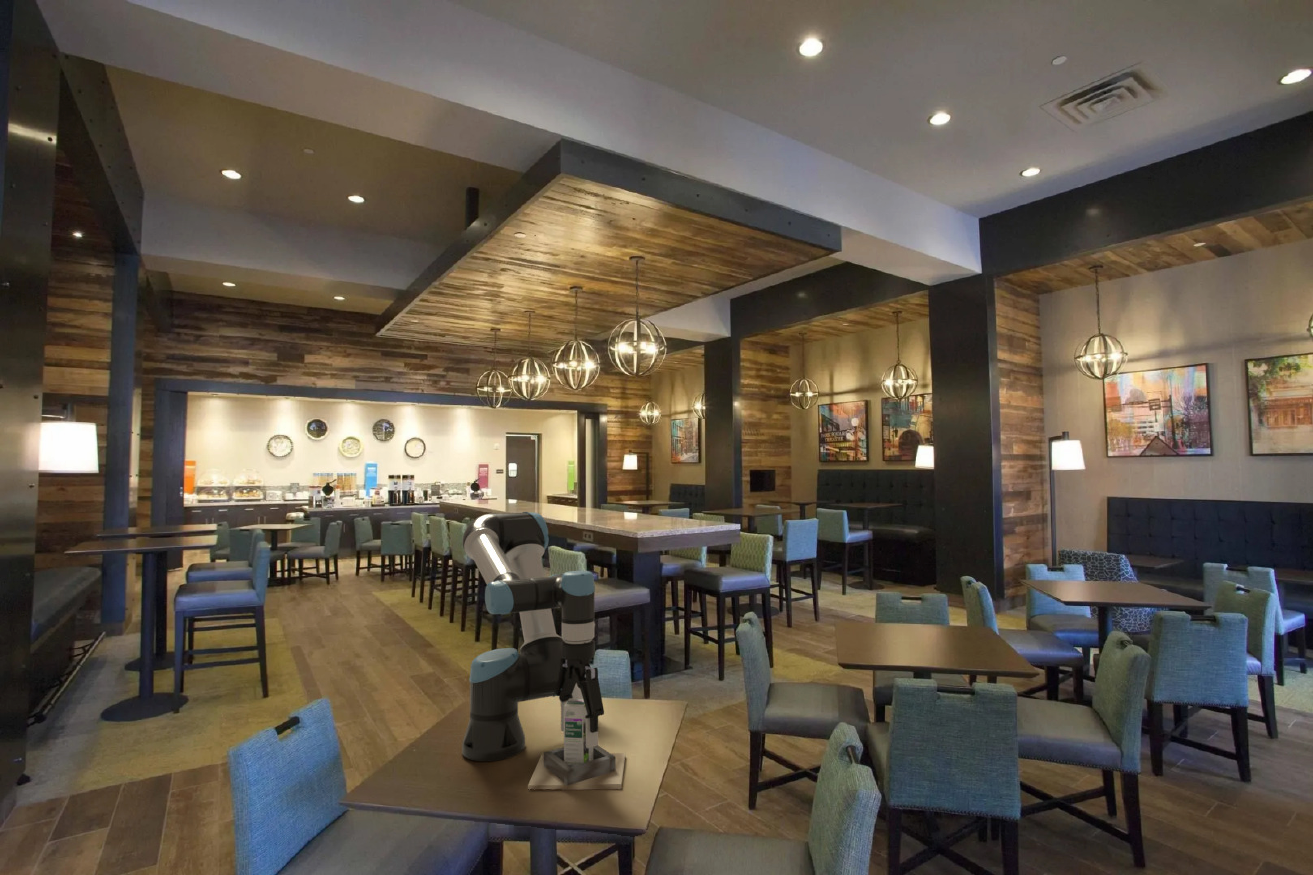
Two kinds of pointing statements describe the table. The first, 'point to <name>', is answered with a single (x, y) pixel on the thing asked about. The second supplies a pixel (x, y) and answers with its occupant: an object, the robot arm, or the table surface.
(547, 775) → the socket board
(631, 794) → the table surface
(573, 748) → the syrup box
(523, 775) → the table surface
